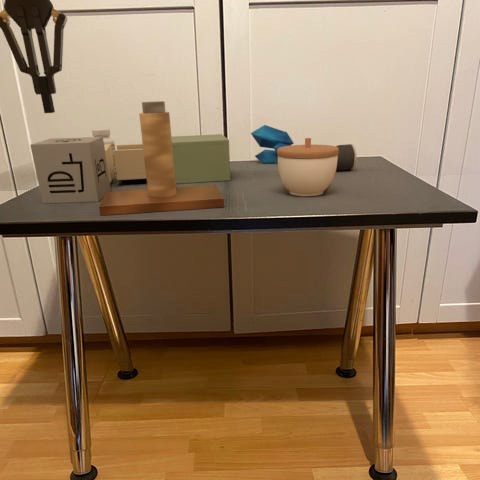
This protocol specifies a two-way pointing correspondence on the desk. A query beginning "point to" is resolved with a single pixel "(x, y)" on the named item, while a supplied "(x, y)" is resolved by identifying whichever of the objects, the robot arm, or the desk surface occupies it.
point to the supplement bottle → (105, 139)
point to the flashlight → (346, 157)
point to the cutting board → (160, 200)
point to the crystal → (270, 143)
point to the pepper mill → (157, 149)
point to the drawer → (126, 162)
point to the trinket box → (307, 167)
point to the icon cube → (71, 169)
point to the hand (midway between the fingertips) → (49, 112)
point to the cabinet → (201, 158)
